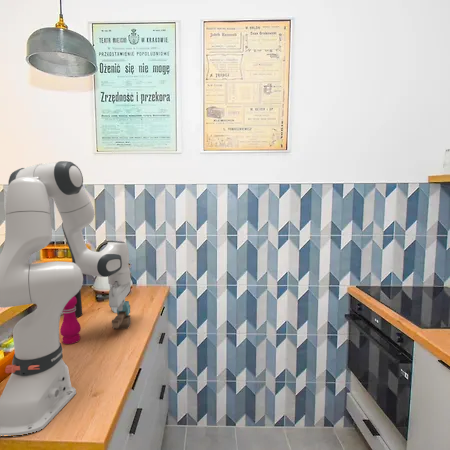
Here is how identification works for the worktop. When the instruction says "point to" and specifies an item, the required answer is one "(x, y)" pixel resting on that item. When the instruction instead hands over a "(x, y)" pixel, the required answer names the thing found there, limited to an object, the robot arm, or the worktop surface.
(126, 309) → the rider
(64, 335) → the pepper mill
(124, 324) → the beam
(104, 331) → the worktop surface
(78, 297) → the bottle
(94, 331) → the worktop surface
